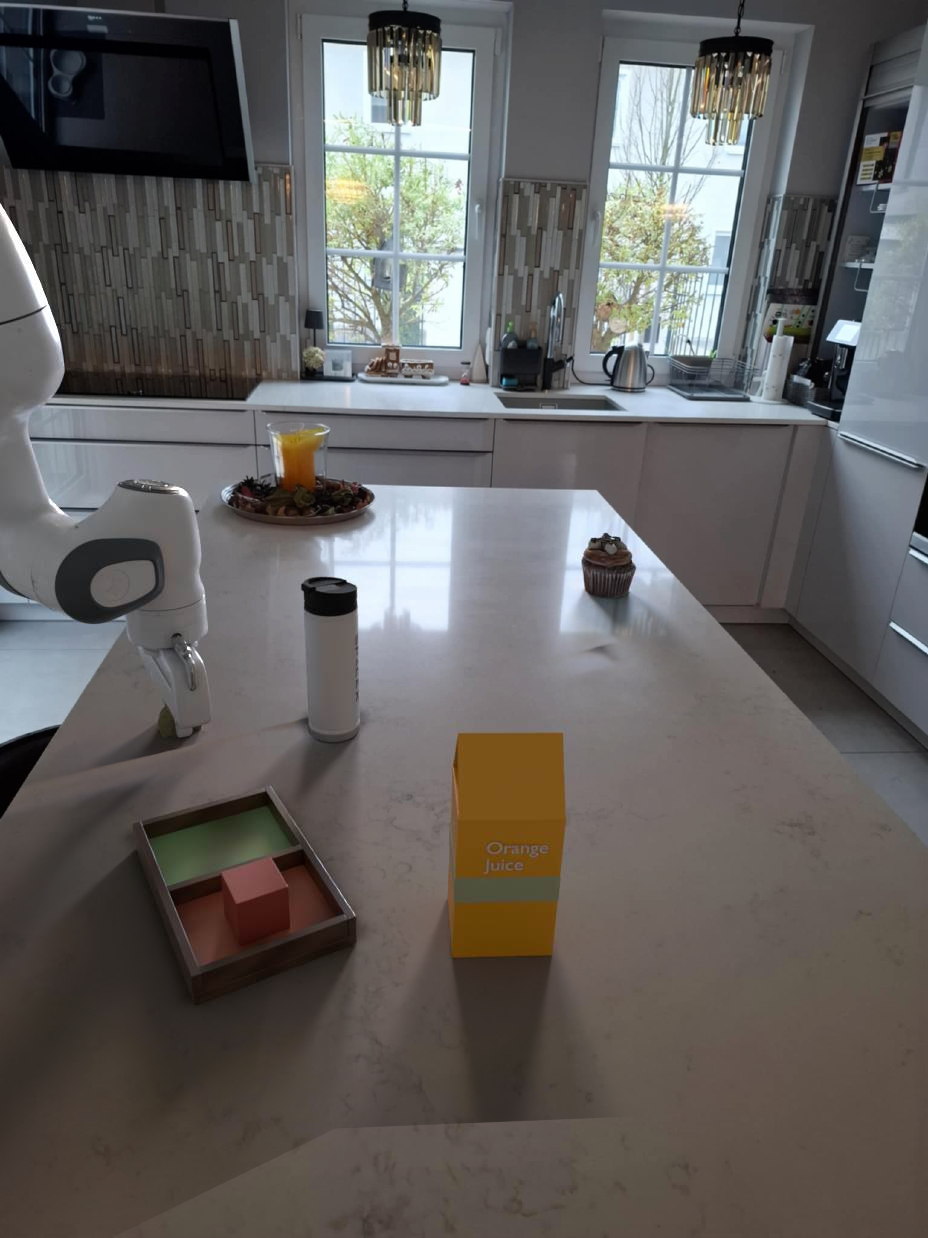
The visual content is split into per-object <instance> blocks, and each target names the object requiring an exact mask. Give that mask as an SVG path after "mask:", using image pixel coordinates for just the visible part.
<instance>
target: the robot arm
mask: <svg viewBox="0 0 928 1238" xmlns="http://www.w3.org/2000/svg"><path fill="white" fill-rule="evenodd" d="M45 294H46V293H45V292H44V290H43V286H42V283H41V281H40V279H39V277H38V274H37V271H36V269H35V268H34V265H33V263H32V260H31V258H30V256H29V254H28V252H27V250H26V247H25V245H24V244H23V242H22V239H21V238H20V235H19V234H18V233H17V231H16V228H15V227H14V225H13V223H12V221H11V219H10V217H9V216H8V214H7V211H5V208H3V205H2V204H1V203H0V586H1V587H2V588H3V589H4V590H5V591H7V592H9V593H11V594H13V595H16V596H18V597H21V598H24V599H26V600H27V599H28V600H29V601H34V602H36V603H38V604H39V605H41V606H43V607H46V608H47V609H49V610H51V611H53V612H56V613H59V614H61V615H62V616H65V617H67V618H68V619H71V620H73V621H76V622H79V623H83V624H85V625H100V624H101V625H102V624H105V623H109V622H111V621H114V620H117V619H119V618H121V617H123V616H124V621H125V628H126V636H127V639H128V641H129V642H130V643H131V644H133V645H135V646H136V647H137V651H138V653H139V656H140V659H141V662H142V663H143V665H144V667H145V668H146V670H147V672H148V673H149V676H150V677H151V679H152V681H153V683H154V685H155V686H156V688H157V690H158V691H159V693H160V696H161V701H162V705H163V708H164V707H165V706H166V705H167V706H168V708H169V710H170V711H171V713H172V715H173V717H174V720H173V723H174V730H175V732H176V734H175V735H176V736H177V737H178V738H179V739H180V738H186V737H190V736H191V735H192V734H193V732H194V731H192V727H196V726H200V725H202V726H205V725H208V724H209V723H210V722H211V720H212V717H213V711H212V704H211V703H212V702H211V694H210V688H209V680H208V674H207V670H206V667H205V663H204V660H203V659H202V656H200V654H199V653H198V651H197V650H196V648H197V647H198V645H199V641H200V640H201V639H203V638H204V637H205V636H206V635H207V634H208V632H209V622H208V614H207V613H208V612H207V604H206V603H207V602H206V592H205V591H206V590H205V586H204V584H203V582H202V579H201V575H200V567H201V563H202V547H201V537H200V530H199V524H198V518H197V514H196V510H195V507H194V504H193V500H192V498H191V497H190V494H189V493H188V492H187V491H186V490H185V489H183V488H181V487H180V486H177V485H175V484H172V483H168V482H165V481H161V480H159V481H158V480H153V479H143V478H142V479H141V478H135V479H125V480H124V481H119V482H118V483H117V484H115V485H114V488H113V491H112V493H111V494H110V495H109V497H108V498H107V499H106V500H105V501H104V503H103V504H102V505H100V506H99V508H97V509H96V510H95V511H93V512H92V513H91V514H89V515H88V516H86V517H85V518H83V519H81V520H77V519H74V518H73V517H71V516H69V515H68V514H67V513H66V512H64V510H62V509H61V508H59V507H58V506H57V505H56V503H54V501H53V500H52V499H51V497H50V496H49V494H48V492H47V489H46V485H45V482H44V480H43V476H42V472H41V470H40V466H39V463H38V460H37V456H36V454H35V451H34V448H33V445H32V442H31V439H30V434H29V420H30V417H31V415H32V414H33V413H34V412H37V411H38V410H39V409H41V408H42V407H44V406H45V405H46V404H47V403H48V402H49V401H50V400H51V399H52V398H53V397H54V396H55V394H56V393H57V391H58V389H59V388H60V386H61V383H62V382H63V378H64V375H65V373H66V372H65V370H66V369H65V361H64V353H63V347H62V342H61V338H60V337H61V336H60V333H59V331H58V327H57V325H56V322H55V318H54V316H53V313H52V310H51V307H50V304H49V303H48V300H47V297H46V295H45Z"/></svg>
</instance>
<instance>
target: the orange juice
mask: <svg viewBox="0 0 928 1238" xmlns="http://www.w3.org/2000/svg"><path fill="white" fill-rule="evenodd" d="M564 749H565V748H564V732H458V733H457V738H456V744H455V751H454V757H453V762H452V763H453V764H452V769H451V770H452V771H451V797H450V819H449V820H450V821H449V832H448V833H449V836H448V872H447V873H448V874H447V876H448V877H447V909H448V921H449V922H448V923H449V935H450V947H451V949H450V950H451V958H490V957H491V958H493V957H495V958H496V957H498V958H499V957H534V956H535V957H536V956H537V957H538V956H553V951H554V941H555V932H556V923H557V922H556V921H557V913H558V912H557V910H558V902H559V899H560V898H559V897H560V889H561V879H562V875H561V871H562V862H563V854H564V842H565V834H566V823H567V813H566V784H565V756H564V755H565V754H564V752H565V751H564Z"/></svg>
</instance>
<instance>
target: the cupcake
mask: <svg viewBox="0 0 928 1238" xmlns="http://www.w3.org/2000/svg"><path fill="white" fill-rule="evenodd" d="M582 554H583V556H582V558H581V560H580V561H581V568H582V569H581V570H582V575H583V586H584V590H585V592H587V593H588V594H590V595H593V596H596V597H599V598H606V599H615V598H622V597H625V596H627V595H628V594H629V591H630V588H631V585H632V582H633V578H634V577H635V573H636V572H637V571H636V570H637V565H636V564H635V563H634V562H633V553H632V551H631V550H630V549H628V546H627V545H626V543H625V542H624V541H622V538H621V537H620V536H617V535H616V536H612V535H610V534H609V533H608V532H604V533H603V535H601V536H600V537H591V538H590V540H588V543H587V547H586V548H585V549H584V551H583V553H582Z"/></svg>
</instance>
